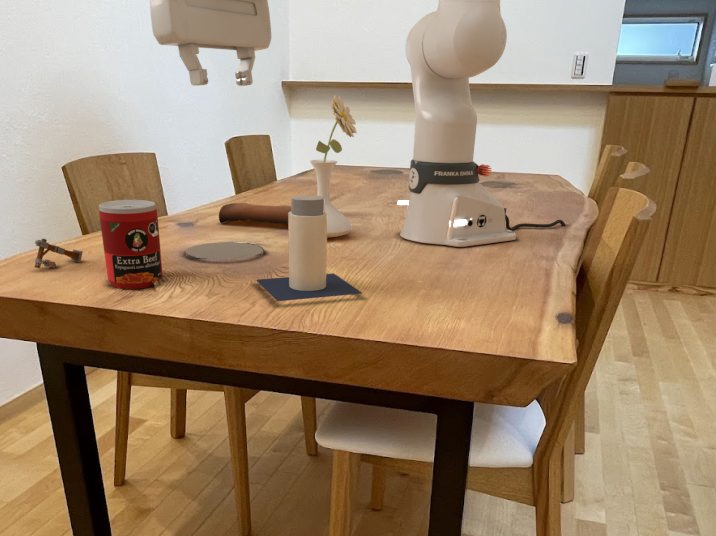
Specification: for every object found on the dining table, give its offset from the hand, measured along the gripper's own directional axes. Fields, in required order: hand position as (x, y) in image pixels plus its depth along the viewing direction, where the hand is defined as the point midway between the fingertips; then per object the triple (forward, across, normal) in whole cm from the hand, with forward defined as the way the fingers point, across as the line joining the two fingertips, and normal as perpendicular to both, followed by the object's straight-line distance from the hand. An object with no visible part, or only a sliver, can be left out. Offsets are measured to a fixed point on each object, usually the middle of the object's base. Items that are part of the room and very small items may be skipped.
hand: (223, 85), depth 89 cm
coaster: (+25, +10, +13) cm, 30 cm away
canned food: (+25, -11, +12) cm, 30 cm away
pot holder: (+28, -2, -11) cm, 30 cm away
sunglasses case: (+24, +36, +23) cm, 49 cm away
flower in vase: (+26, +33, +7) cm, 43 cm away
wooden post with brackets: (+23, -11, +28) cm, 38 cm away
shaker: (+27, -2, -11) cm, 29 cm away
